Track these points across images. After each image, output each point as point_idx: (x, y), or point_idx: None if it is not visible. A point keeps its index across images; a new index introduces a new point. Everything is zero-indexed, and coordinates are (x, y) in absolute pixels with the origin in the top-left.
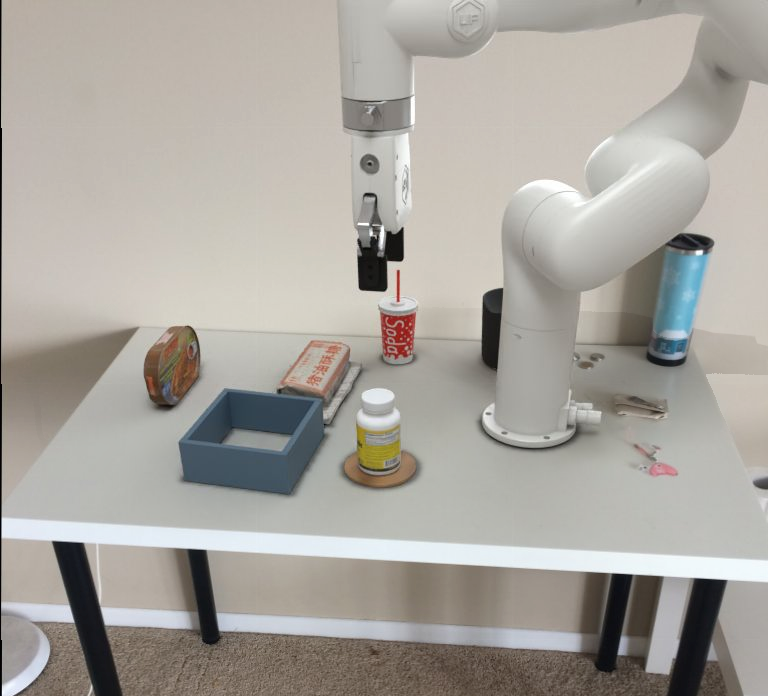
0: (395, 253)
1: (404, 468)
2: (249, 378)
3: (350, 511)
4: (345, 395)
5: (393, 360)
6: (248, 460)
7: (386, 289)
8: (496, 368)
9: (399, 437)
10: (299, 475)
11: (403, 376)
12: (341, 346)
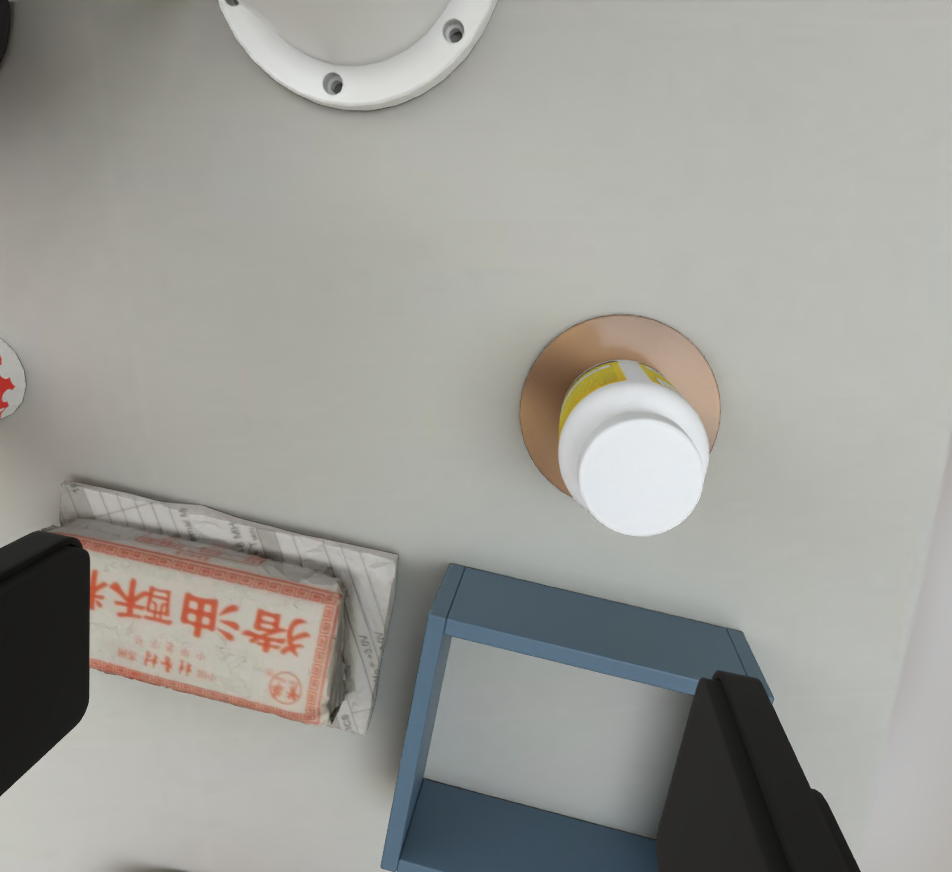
0: (46, 620)
1: (634, 347)
2: (168, 757)
3: (829, 482)
4: (241, 519)
5: (17, 391)
6: None
7: (756, 681)
8: (1, 53)
9: (651, 375)
10: (662, 614)
11: (94, 358)
12: None
